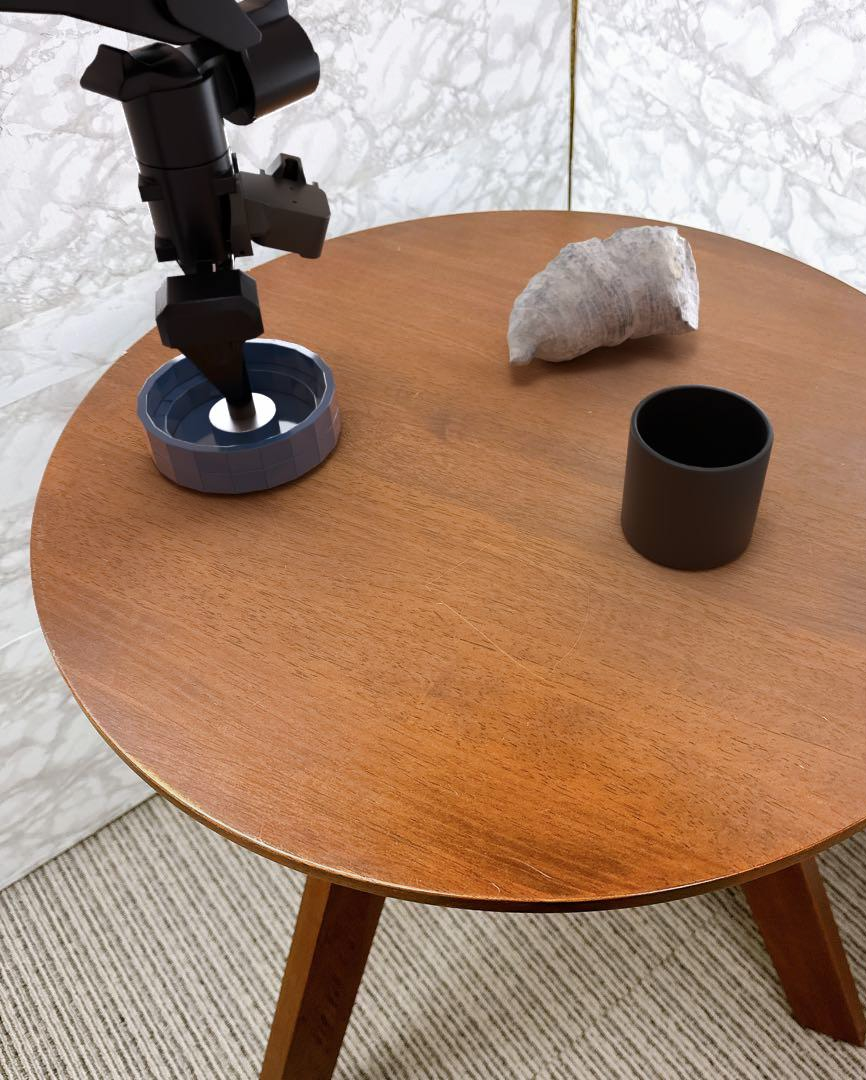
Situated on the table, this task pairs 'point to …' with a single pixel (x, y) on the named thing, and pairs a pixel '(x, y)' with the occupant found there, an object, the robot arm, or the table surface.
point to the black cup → (694, 475)
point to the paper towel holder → (244, 417)
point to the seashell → (606, 295)
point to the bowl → (199, 463)
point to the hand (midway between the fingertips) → (230, 360)
